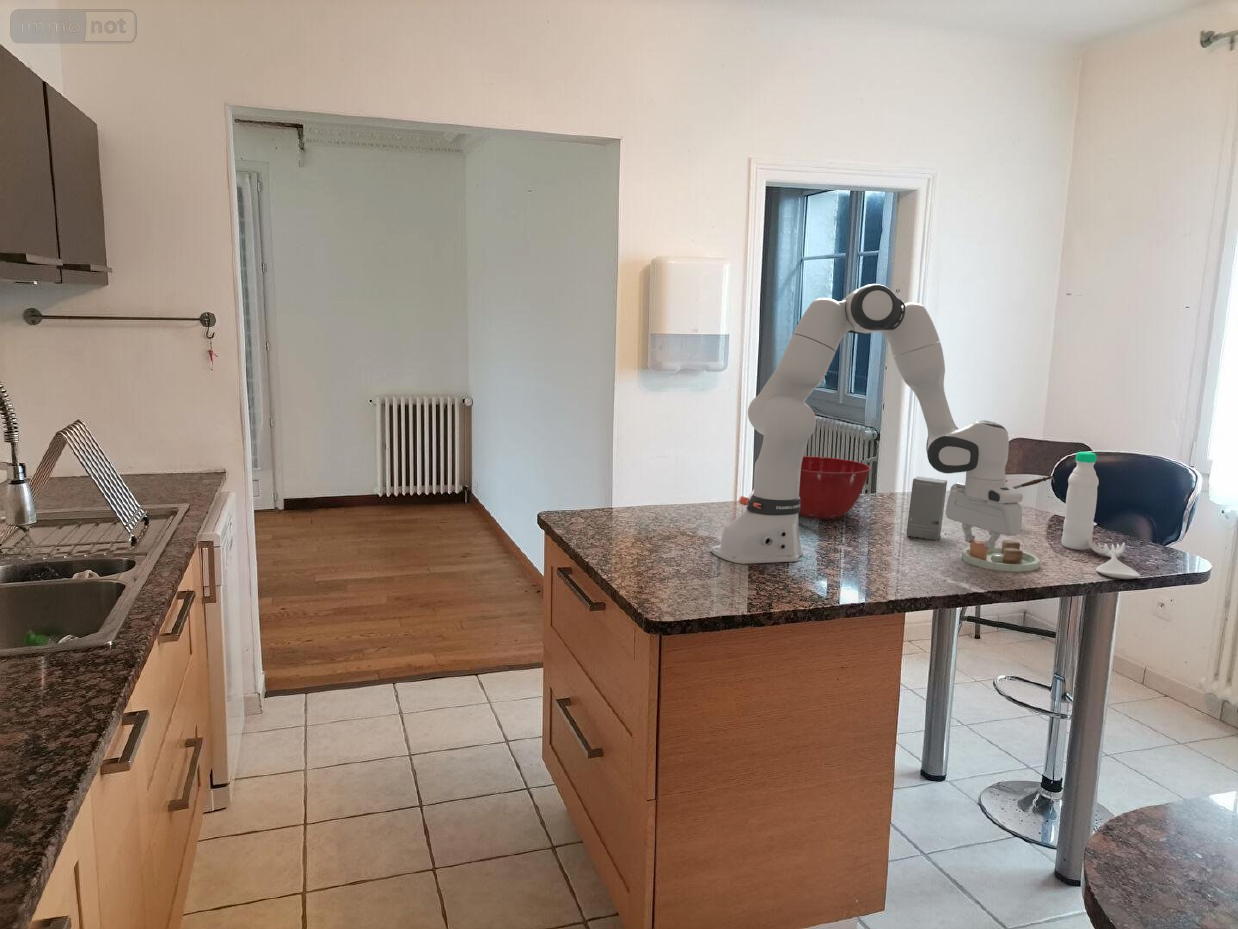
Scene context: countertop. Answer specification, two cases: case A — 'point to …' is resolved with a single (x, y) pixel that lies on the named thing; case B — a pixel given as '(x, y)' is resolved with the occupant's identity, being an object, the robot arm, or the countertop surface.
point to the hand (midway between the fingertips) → (979, 545)
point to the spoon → (1113, 562)
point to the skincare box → (926, 508)
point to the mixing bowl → (830, 486)
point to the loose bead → (978, 550)
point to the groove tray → (996, 561)
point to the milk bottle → (1080, 503)
